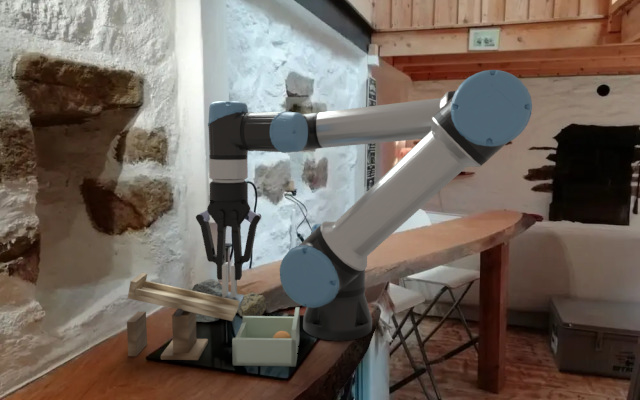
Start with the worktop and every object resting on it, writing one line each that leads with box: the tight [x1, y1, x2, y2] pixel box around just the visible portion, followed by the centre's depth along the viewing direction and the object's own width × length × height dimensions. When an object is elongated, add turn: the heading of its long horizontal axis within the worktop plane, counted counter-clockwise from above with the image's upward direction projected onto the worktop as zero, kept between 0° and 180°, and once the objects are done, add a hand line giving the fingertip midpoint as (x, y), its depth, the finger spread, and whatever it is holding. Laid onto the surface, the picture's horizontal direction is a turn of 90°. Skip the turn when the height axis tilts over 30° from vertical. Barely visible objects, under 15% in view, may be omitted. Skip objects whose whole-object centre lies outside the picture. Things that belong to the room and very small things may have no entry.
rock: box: [236, 291, 268, 318], centre depth 119 cm, size 7×8×4 cm
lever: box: [127, 272, 245, 322], centre depth 100 cm, size 20×14×4 cm
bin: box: [231, 306, 301, 367], centre depth 98 cm, size 12×12×7 cm
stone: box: [191, 278, 222, 323], centre depth 116 cm, size 10×10×10 cm
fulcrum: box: [126, 310, 209, 361], centre depth 98 cm, size 14×8×8 cm, turn 89°
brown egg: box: [273, 331, 291, 338], centre depth 98 cm, size 4×4×4 cm
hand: (229, 294), depth 103 cm, fingers closed
